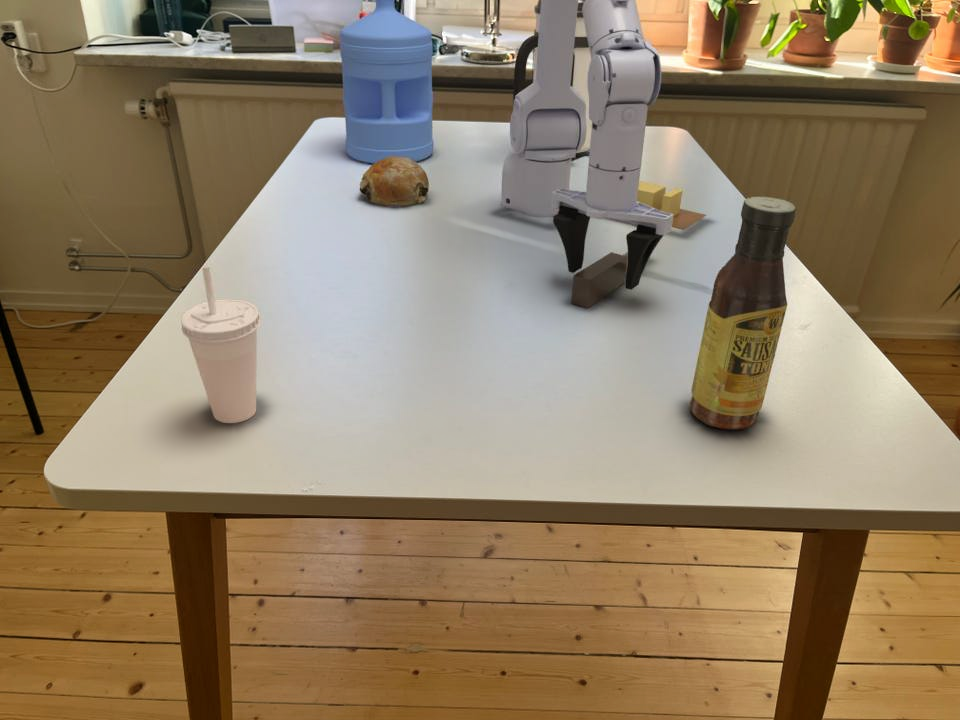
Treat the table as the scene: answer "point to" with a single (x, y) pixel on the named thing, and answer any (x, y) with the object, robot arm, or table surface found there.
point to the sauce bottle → (744, 319)
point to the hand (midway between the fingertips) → (603, 277)
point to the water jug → (387, 86)
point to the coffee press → (578, 66)
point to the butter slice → (672, 202)
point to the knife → (599, 279)
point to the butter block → (651, 194)
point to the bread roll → (395, 182)
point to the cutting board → (686, 219)
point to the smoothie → (225, 352)
